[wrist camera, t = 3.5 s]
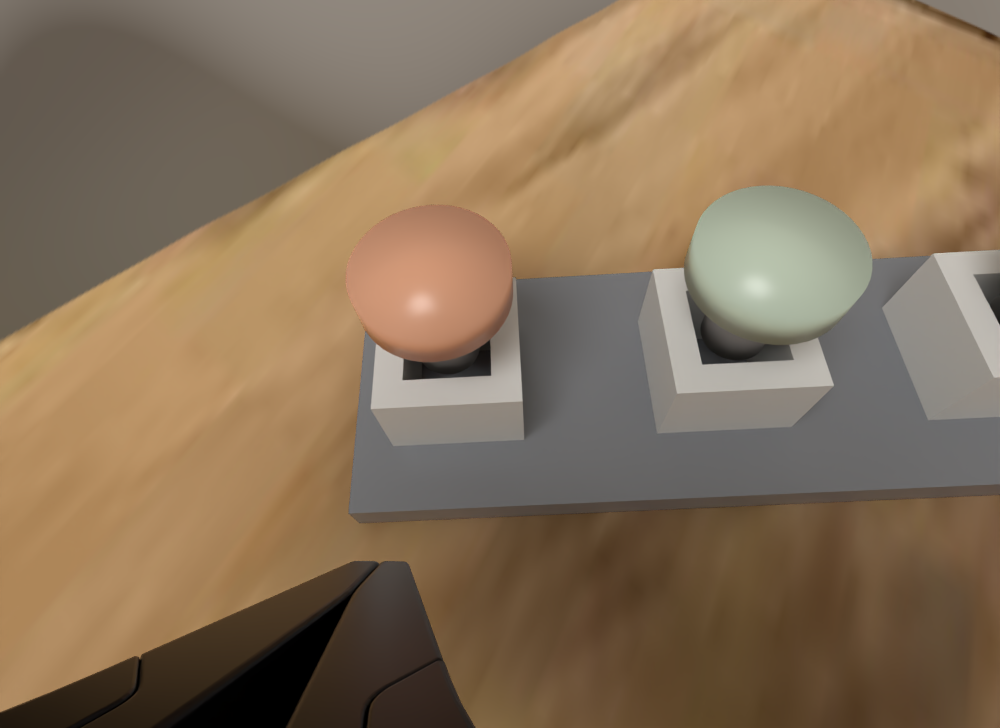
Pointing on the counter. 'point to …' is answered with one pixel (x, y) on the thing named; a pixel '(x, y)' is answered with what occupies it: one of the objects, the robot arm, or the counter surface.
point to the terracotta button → (432, 285)
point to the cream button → (996, 308)
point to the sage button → (773, 269)
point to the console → (690, 404)
